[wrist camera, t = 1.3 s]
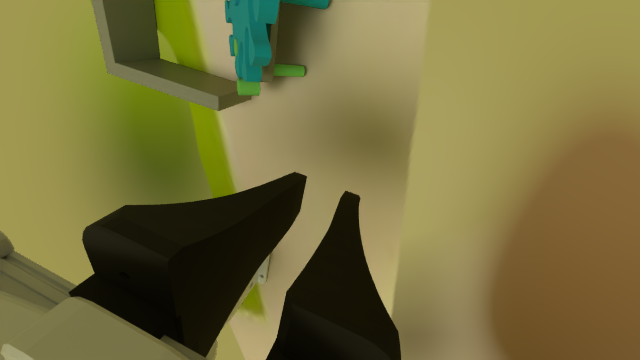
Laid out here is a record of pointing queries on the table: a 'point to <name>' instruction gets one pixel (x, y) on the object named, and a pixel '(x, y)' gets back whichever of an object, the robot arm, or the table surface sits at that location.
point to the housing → (154, 56)
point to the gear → (259, 41)
